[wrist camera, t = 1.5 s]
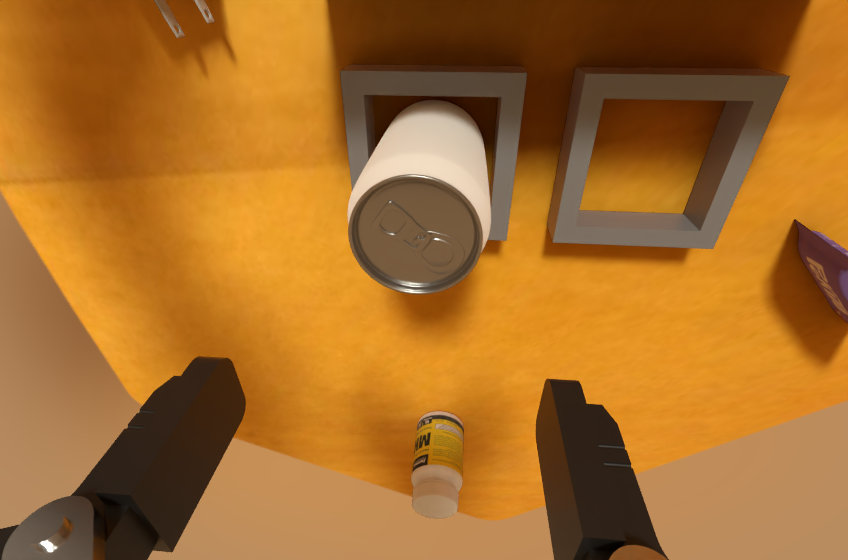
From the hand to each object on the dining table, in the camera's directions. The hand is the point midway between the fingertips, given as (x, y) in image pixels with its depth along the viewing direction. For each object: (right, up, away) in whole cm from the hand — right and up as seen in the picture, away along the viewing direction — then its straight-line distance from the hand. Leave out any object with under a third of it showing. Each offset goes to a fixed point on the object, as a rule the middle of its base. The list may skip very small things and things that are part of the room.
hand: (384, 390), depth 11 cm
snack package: (+30, +3, +19) cm, 35 cm away
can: (+2, +11, +17) cm, 20 cm away
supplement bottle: (+3, -12, +32) cm, 35 cm away
